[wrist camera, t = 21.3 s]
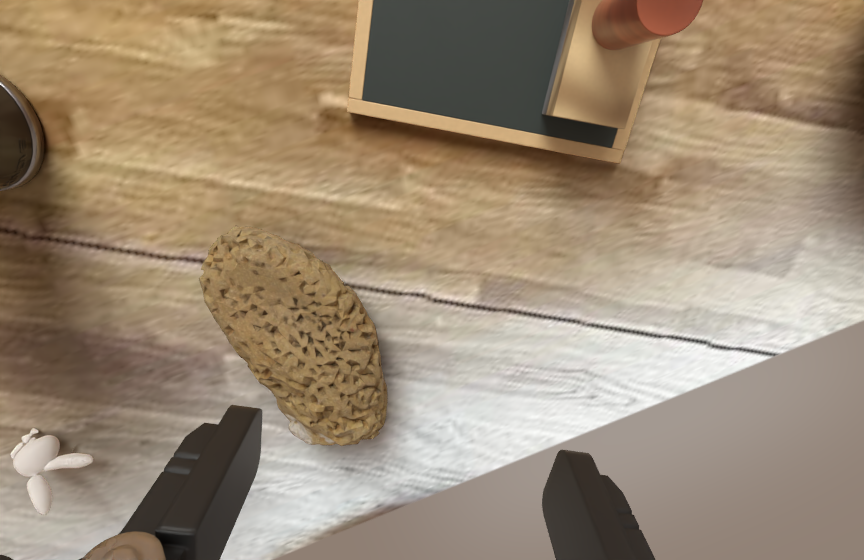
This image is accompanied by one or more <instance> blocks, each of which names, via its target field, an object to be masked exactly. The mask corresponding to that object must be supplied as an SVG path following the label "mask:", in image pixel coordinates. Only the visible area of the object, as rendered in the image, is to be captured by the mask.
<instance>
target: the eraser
mask: <svg viewBox="0 0 864 560" xmlns="http://www.w3.org/2000/svg"><path fill="white" fill-rule="evenodd" d="M702 2H703V0H569V4H568V8H567V12H566V16H565V20H564V25H563V29H562V33H561V37H560V41H559V45H558V49H557V53H556V57H555V61H554V65H553V69H552V73H551V77H550V82H549V86H548V90H547V94H546V98H545V102H544V106H543V110H542V115H546V116H552V117H557V118H563V119H568V120H573V121H579V122H584V123H589V124H595V125H600V126H605V127H612V128H619V129H625V127H626V124H627V120H628V117H629V114H630V111H631V107H632V104H633V101H634V98H635V95H636V91H637V88H638V85H639V82H640V79H641V75H642V72H643V69H644V66H645V63H646V59H647V56H648V53H649V50H650V47H651V43H652V40H656V39H659V38H663V37H666V36H670V35H673V34H676V33H678V32H680V31H682V30H683V29H685V28H686V27H687V26H688V25H689V24H690V23H691V22H692V21H693V20H694V19H695V17H696V16H697V14H698V12H699V10H700V8H701V5H702Z"/></svg>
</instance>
